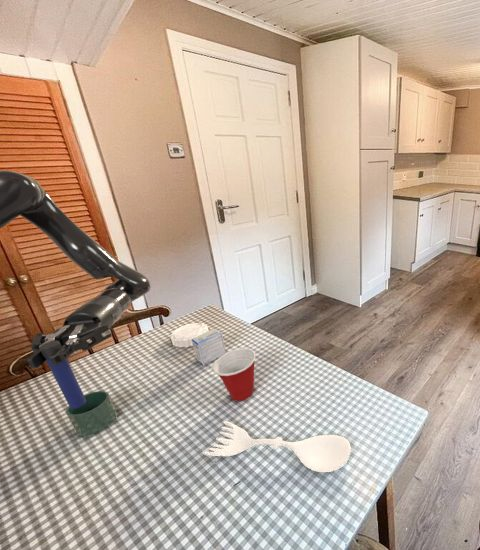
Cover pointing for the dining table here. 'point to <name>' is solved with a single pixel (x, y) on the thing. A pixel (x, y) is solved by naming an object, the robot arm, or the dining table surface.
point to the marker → (64, 376)
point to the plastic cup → (237, 372)
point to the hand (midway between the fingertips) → (43, 362)
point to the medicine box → (208, 346)
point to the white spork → (312, 452)
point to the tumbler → (92, 414)
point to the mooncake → (187, 334)
